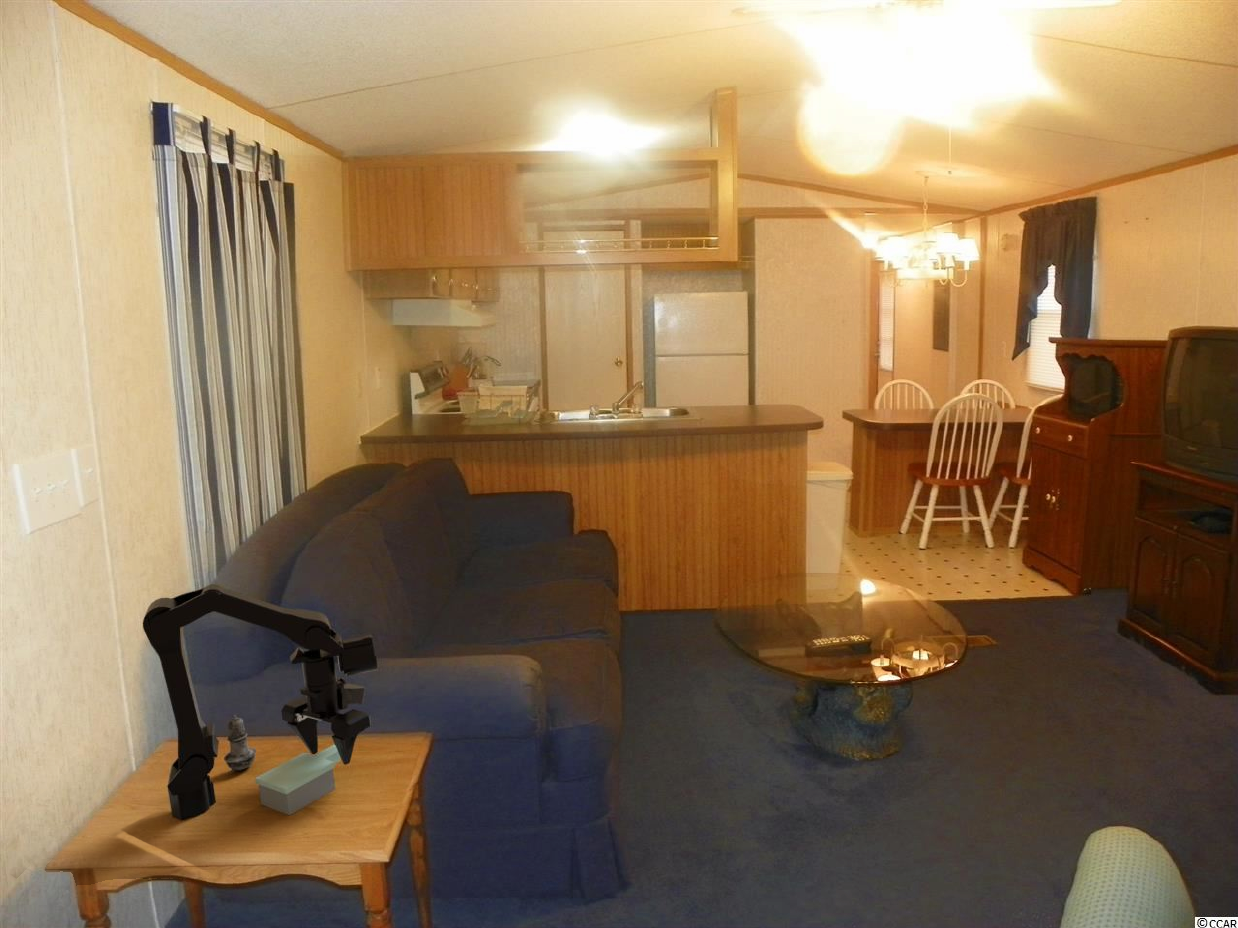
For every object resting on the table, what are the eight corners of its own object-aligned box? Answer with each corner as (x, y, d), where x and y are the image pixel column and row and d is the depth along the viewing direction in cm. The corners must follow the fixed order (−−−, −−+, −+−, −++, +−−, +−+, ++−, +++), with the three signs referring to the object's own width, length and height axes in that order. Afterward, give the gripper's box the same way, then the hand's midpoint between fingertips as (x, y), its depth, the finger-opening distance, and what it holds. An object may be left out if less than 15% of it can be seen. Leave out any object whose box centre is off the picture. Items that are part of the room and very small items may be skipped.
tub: (290, 819, 160) (286, 792, 159) (262, 808, 164) (258, 782, 163) (335, 792, 168) (332, 767, 167) (307, 782, 172) (304, 758, 172)
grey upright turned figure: (264, 767, 180) (256, 710, 178) (238, 781, 175) (230, 723, 173) (246, 761, 183) (238, 705, 181) (220, 775, 178) (211, 717, 176)
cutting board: (286, 799, 159) (285, 788, 158) (256, 788, 163) (255, 777, 163) (356, 760, 171) (355, 750, 171) (326, 750, 176) (325, 740, 176)
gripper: (388, 672, 171) (397, 750, 173) (323, 657, 181) (332, 731, 183) (340, 695, 161) (351, 777, 164) (275, 678, 172) (285, 755, 174)
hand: (330, 758), depth 172 cm, fingers open, 9 cm apart
